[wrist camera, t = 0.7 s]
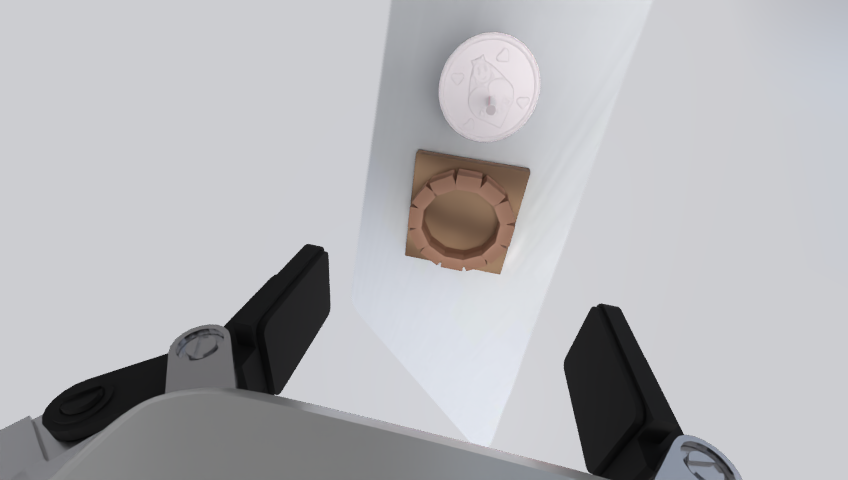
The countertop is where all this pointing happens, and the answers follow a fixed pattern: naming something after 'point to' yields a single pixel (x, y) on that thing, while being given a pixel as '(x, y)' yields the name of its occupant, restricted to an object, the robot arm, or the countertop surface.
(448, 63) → the smoothie
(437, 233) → the ring board
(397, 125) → the countertop surface
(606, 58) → the countertop surface
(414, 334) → the countertop surface
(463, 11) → the countertop surface
